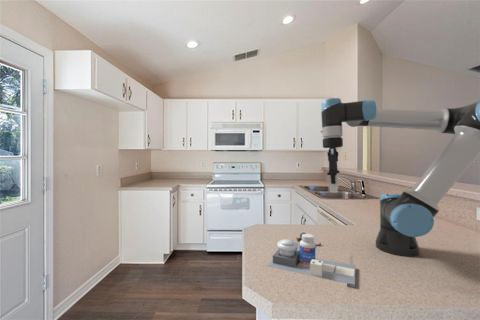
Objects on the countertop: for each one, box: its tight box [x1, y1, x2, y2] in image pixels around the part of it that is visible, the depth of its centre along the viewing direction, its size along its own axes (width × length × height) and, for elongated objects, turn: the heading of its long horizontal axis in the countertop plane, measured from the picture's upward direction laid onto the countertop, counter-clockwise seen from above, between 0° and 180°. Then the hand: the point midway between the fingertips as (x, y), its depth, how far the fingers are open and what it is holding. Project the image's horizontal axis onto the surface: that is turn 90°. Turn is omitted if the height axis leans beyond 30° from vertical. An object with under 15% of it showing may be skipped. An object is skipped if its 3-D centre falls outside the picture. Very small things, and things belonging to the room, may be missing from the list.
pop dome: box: [276, 238, 299, 258], centre depth 85 cm, size 7×7×5 cm
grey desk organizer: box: [267, 249, 356, 289], centre depth 80 cm, size 27×14×5 cm, turn 63°
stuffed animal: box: [296, 232, 322, 247], centre depth 102 cm, size 12×10×12 cm
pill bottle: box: [298, 233, 317, 267], centre depth 81 cm, size 6×5×10 cm
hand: (334, 190), depth 94 cm, fingers open, 13 cm apart
